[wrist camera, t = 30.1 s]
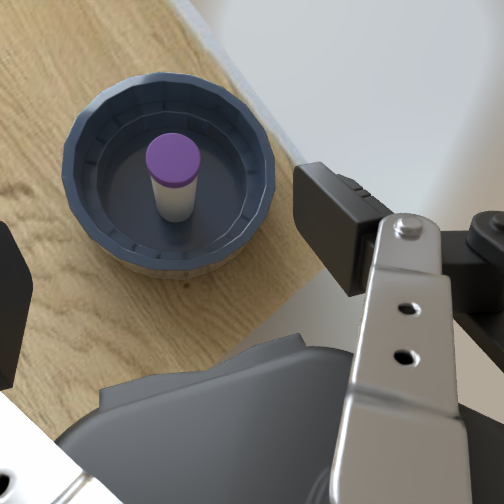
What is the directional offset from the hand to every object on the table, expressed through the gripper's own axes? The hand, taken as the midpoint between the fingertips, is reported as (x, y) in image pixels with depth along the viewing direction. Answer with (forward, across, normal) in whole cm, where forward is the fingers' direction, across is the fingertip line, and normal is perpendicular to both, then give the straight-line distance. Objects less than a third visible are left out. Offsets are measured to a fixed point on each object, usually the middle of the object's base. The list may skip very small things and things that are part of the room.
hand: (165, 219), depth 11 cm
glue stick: (+21, -2, +11) cm, 24 cm away
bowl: (+22, -2, +10) cm, 25 cm away
